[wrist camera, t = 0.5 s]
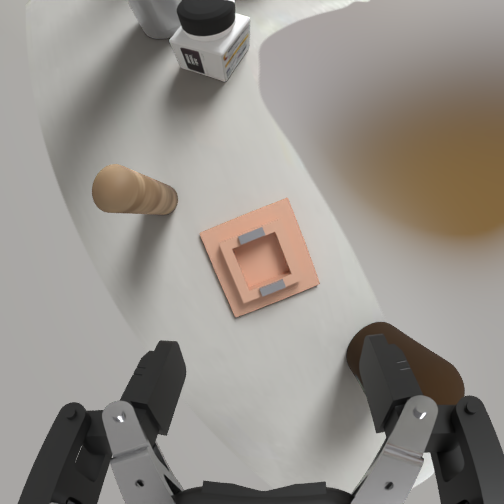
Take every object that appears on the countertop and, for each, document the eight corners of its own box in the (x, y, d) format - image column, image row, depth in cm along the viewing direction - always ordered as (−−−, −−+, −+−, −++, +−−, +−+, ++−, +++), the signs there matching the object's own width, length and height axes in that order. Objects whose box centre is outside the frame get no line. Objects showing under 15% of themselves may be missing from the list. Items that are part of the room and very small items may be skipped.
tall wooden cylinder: (145, 192, 34) (87, 178, 20) (171, 180, 34) (124, 155, 19) (155, 219, 35) (100, 220, 20) (182, 207, 35) (139, 199, 20)
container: (226, 83, 33) (218, 28, 20) (179, 68, 32) (156, 16, 19) (250, 47, 32) (252, -10, 19) (205, 34, 32) (193, -21, 19)
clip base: (200, 232, 35) (195, 234, 32) (286, 198, 35) (291, 195, 31) (235, 315, 37) (234, 325, 33) (318, 282, 36) (325, 288, 33)
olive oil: (370, 305, 37) (487, 394, 12) (412, 333, 38) (514, 411, 13) (329, 363, 38) (398, 490, 13) (374, 385, 39) (448, 486, 14)
